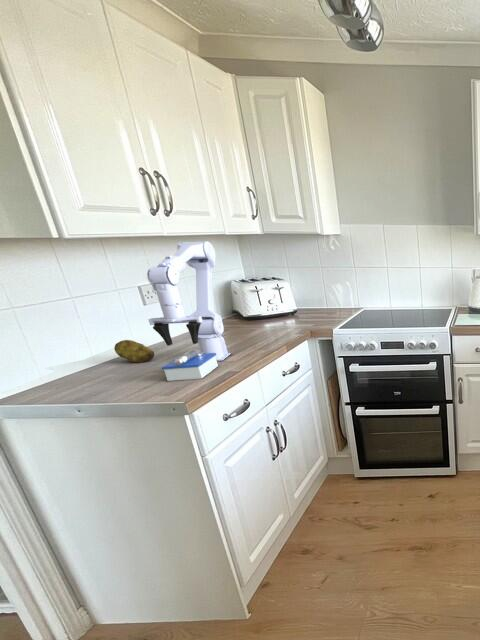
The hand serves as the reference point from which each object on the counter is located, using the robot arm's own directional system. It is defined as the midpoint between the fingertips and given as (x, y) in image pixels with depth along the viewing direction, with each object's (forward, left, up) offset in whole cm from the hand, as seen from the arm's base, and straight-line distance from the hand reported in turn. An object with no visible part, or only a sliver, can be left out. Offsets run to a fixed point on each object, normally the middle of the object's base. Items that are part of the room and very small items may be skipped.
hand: (182, 344), depth 142 cm
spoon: (+1, +1, -5) cm, 6 cm away
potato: (-22, -27, -11) cm, 36 cm away
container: (+1, +1, -10) cm, 10 cm away
